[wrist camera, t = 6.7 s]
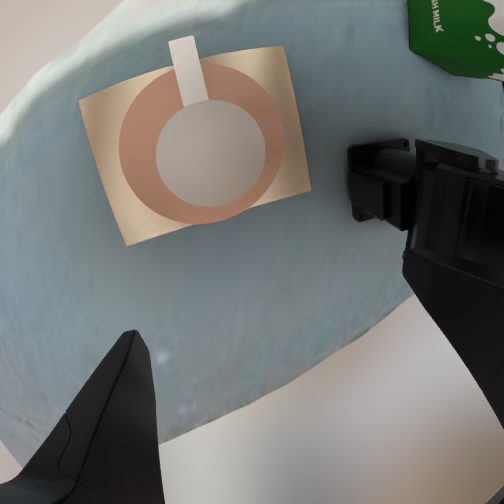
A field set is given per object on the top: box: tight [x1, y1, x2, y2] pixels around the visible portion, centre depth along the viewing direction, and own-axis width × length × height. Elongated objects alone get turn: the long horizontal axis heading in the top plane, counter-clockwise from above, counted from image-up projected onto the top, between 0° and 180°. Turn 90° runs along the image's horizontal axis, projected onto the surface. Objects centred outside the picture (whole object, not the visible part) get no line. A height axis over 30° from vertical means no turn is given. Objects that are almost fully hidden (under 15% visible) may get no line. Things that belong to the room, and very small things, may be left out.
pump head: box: [156, 35, 266, 207], centre depth 11 cm, size 4×7×5 cm, turn 12°
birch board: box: [79, 46, 311, 246], centre depth 17 cm, size 14×11×1 cm
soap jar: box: [119, 63, 284, 224], centre depth 14 cm, size 9×9×6 cm
